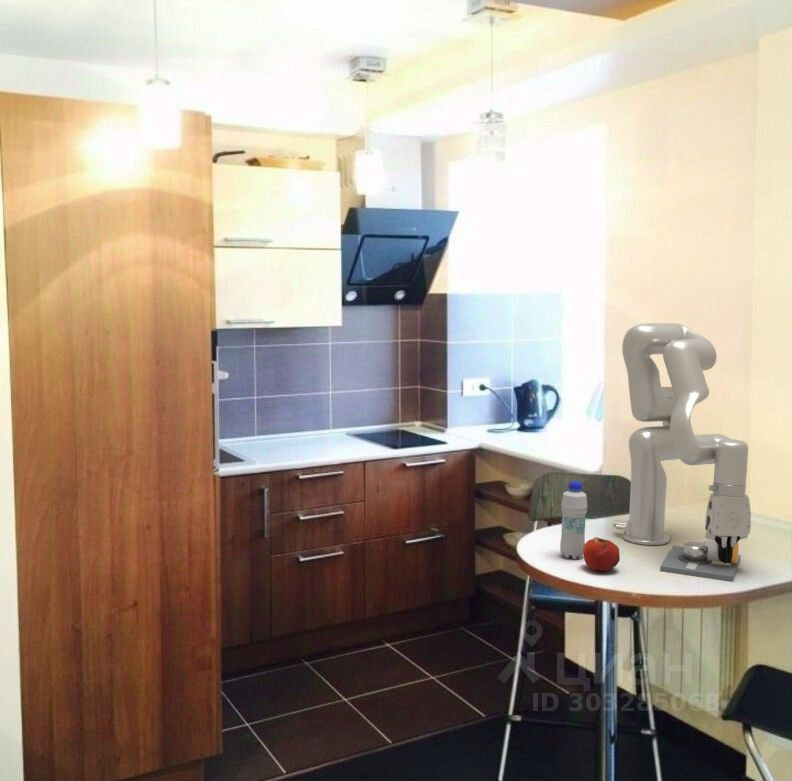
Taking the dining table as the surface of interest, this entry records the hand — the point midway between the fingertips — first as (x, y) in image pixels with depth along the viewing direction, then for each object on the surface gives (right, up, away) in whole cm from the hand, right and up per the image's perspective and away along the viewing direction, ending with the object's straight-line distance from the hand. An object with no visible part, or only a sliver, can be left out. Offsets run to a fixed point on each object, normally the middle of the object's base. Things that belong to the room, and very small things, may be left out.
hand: (724, 561), depth 229 cm
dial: (-2, 0, +4) cm, 5 cm away
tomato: (-31, -2, -1) cm, 31 cm away
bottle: (-36, -1, +10) cm, 38 cm away
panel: (-4, -2, +4) cm, 6 cm away
